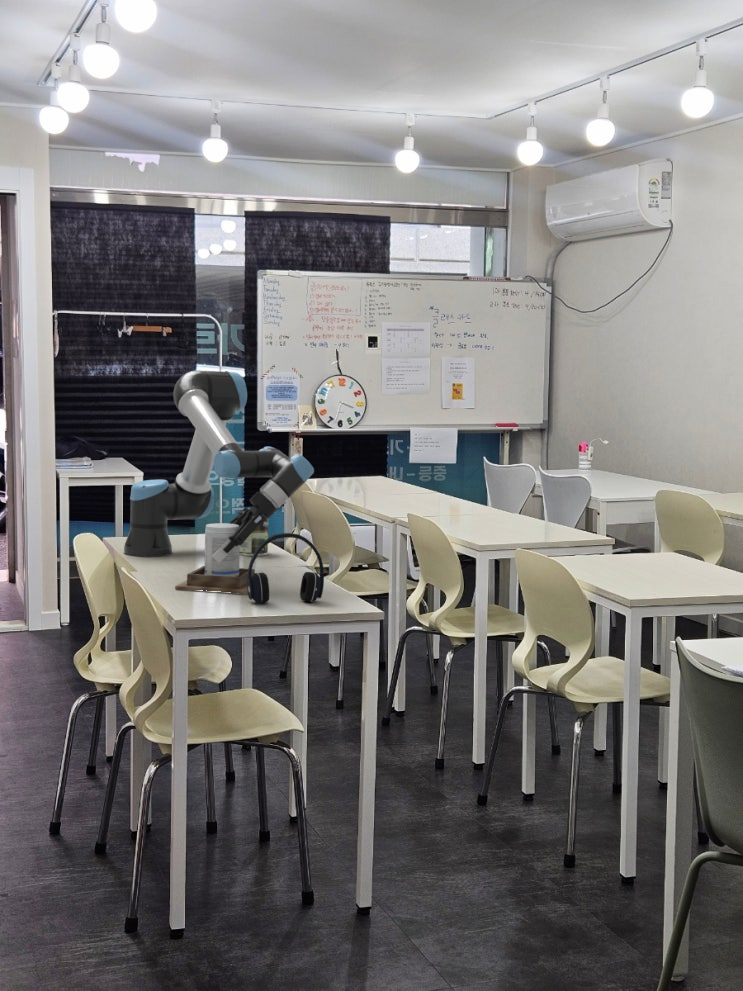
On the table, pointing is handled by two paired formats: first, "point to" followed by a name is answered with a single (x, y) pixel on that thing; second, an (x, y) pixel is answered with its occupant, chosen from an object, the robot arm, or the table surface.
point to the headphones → (310, 580)
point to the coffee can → (256, 539)
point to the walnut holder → (215, 582)
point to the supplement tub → (213, 541)
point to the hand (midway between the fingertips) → (211, 556)
